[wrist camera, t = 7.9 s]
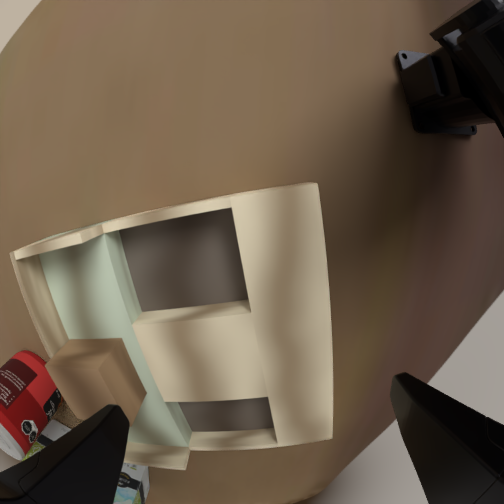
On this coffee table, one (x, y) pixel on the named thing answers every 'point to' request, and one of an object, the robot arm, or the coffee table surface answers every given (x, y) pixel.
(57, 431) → the tea box
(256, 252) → the board
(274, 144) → the coffee table surface
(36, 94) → the coffee table surface
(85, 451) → the robot arm
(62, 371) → the walnut block
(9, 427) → the canned food
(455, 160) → the coffee table surface
